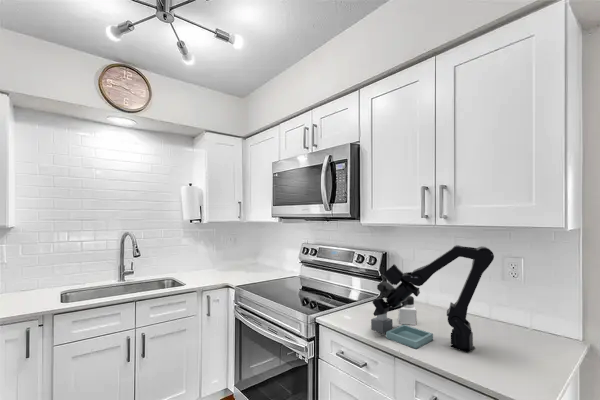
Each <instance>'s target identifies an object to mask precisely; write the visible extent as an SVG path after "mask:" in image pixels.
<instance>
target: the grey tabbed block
mask: <svg viewBox="0 0 600 400" xmlns="http://www.w3.org/2000/svg"><path fill="white" fill-rule="evenodd" d="M370 321H371V322H370V324H371V325H370V327H371V328H370V329H371V330H372V331H375V332H376V333H380V334H386V332H387V331H389V330H392V329H394V328H393V319H392V318H389V317H388V312H387V313H386V314H382V315H377V316H375V317H373V318H371V319H370Z"/></svg>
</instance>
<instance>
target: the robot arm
mask: <svg viewBox="0 0 600 400" xmlns="http://www.w3.org/2000/svg"><path fill="white" fill-rule="evenodd" d="M494 257H495V254H494V252H493V251H492V250H491V249H490V248H488V247H486V246H479V247H470V246H462V245H458V244H456V245H454V246H453V247H451V248H450V249H449V250H448V251H446V252H444V253H443V254H442V255H439V256H438V257H437V258H436V259H434V260H433V261H431V262H429V263H428V264H426V265H423V266H420V267H418V268H416V269H414V270H413V271H409V272H403V271H402V270H401V269H400V268H399V267H398V266H397V265H396V264H395V263H394V264H392V265H391V266H390V267H389V268H388V269H386V270H385V271H384V273H383V274H382V276H383V278H385V279H386V281H381V282H380V283H378V284H377V285H376V289H377V290H378V291H379V292H380V293H382V294H384V295H383V296H384V298H385V299H386V300H385V299H384V298H383V297H377V298H374V299H373V300H372V305H373V306H374V307H375V309H374V311H373V313H372V315H374V317H377V315H382V314H386V313H387V314H388V312H393V311H395V310H396V311H397V310H398V309H400V308H402V307H405V306H406V305H407V304H408V301H407V298H408V297H409V296H412V294H413V295H414V296H415V297H418V296H419V295H420V293H421V292H420V291H421V290H420V287H421V286H423V285H424V284H425V283H426V282H427V281H428V280H429V279H430V278H431V277H432V276H433V275H434V274H435V273H437V272H438V271H440V270H441V269H443V268H444V267H446V266H447V265H449V264H450V263H452V262H453V261H455V260H457V259H458V258H466V259H471V260H472V262H471V268H470V270H469V273H468V275H467V277H466V279H465V282H464V284H463V287H462V289H461V291H460V293H459V295H458V298H457V300H456V302H454V303H453V302H452V301H450V302H449V303H450V304H449V307H448V309H447V310H446V317H447V323H448V325H449V326H450V327H451V328H452V329H451V332H450V346H449V347H450V348H451V349H454V350H455V349H456V350H458V351H461V352H464V353H466V354H469V353H470V352H472V351H473V350H474V349H476V347H475V346H474V336H473V335H474V333H473V332H472V326H471V323H470V322H469V321H468V320H467V316H468V315H467V314H468V308H469V305H470V303H471V300H472V299H473V297H474V294H475V292H476V289H477V288H478V287H477V286H478V285H479V282H480V281H481V278H482V276H483V274H484V272H485V271H486V270H487V269H488V268H489V267H490V265H491V264H492V262H493V260H494ZM387 281H388V282H387ZM393 285H394V286H396V287H394V286H393ZM416 286H417V287H416ZM401 303H402V304H403V305H402V306H401Z"/></svg>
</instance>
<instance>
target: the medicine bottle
mask: <svg viewBox="0 0 600 400" xmlns="http://www.w3.org/2000/svg"><path fill="white" fill-rule="evenodd" d="M414 299H415V298H414V297H413V296H412V295H410V296H409V297H408V298H407V301H408V304H407V305H406V306H405V307H402V308H400V309H397V310H398V311H397V313H398V314H397V319H398V322H399V324H400V325H403V324H404V325H407V326H417V309H416V307H415V300H414ZM402 305H403V304H402V303H401V306H402Z"/></svg>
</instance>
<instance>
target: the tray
mask: <svg viewBox="0 0 600 400" xmlns="http://www.w3.org/2000/svg"><path fill="white" fill-rule="evenodd" d="M385 336H386V337H385V339H388V340H390V341H393V342H395V343H398V344H401V345H404V346H406V347H409V348H412V349H415V350H417V349H420V348H421V347H423V346H426V345H427V344H428V343H431V342H432V341H434V333H432V332H429V331H426V330H422V329H419V328H416V327H412V326H411V325H407V324H400V325H399V326H397V327H394V328H393V329H392V330H389V331H387V332H386V333H385Z"/></svg>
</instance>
